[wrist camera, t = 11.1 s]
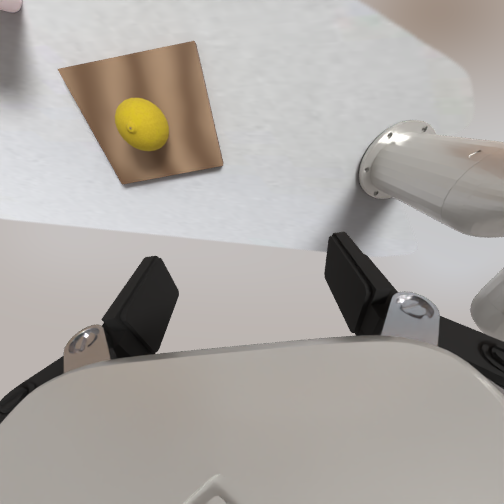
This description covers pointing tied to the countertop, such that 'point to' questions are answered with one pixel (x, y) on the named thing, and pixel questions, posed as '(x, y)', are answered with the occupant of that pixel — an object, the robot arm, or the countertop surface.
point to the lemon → (141, 124)
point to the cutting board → (159, 93)
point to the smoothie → (10, 5)
